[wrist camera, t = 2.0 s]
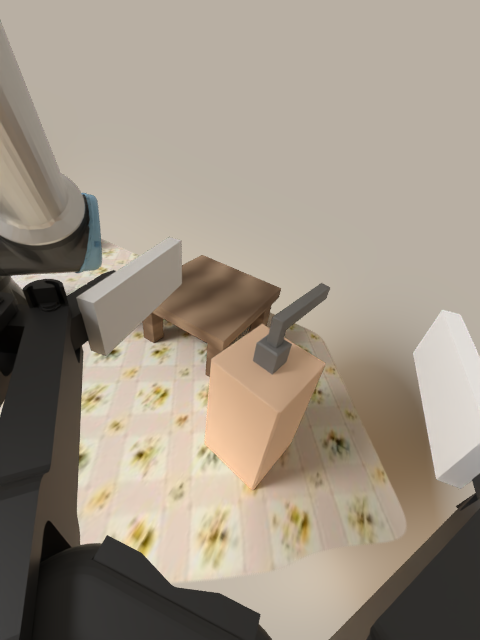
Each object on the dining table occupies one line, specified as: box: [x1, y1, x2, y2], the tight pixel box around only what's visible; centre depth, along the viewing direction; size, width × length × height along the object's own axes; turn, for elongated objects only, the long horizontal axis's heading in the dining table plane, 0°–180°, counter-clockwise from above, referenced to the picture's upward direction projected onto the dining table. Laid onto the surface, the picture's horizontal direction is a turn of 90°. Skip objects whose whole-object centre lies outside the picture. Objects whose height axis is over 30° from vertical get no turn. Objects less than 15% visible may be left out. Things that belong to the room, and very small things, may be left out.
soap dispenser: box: [205, 283, 330, 490], centre depth 34 cm, size 13×9×22 cm
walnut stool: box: [143, 255, 281, 377], centre depth 53 cm, size 18×18×10 cm
